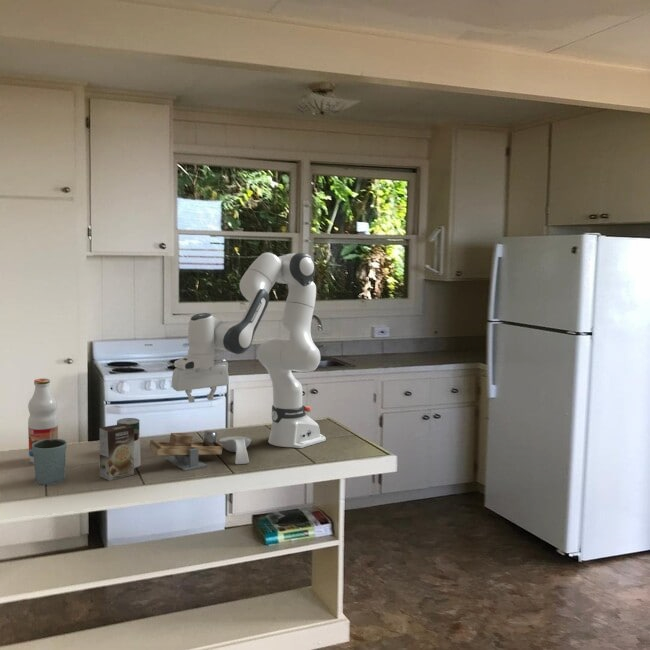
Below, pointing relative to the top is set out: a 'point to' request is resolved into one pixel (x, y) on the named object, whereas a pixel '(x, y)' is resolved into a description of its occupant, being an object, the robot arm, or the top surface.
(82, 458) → the top surface
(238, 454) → the spoon rest
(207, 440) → the cylinder
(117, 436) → the coffee box
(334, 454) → the top surface
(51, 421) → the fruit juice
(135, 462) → the jar
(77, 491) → the top surface
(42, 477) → the teal cup
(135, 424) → the canned tomato
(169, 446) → the beam
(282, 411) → the robot arm
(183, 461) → the stand
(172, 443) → the block
